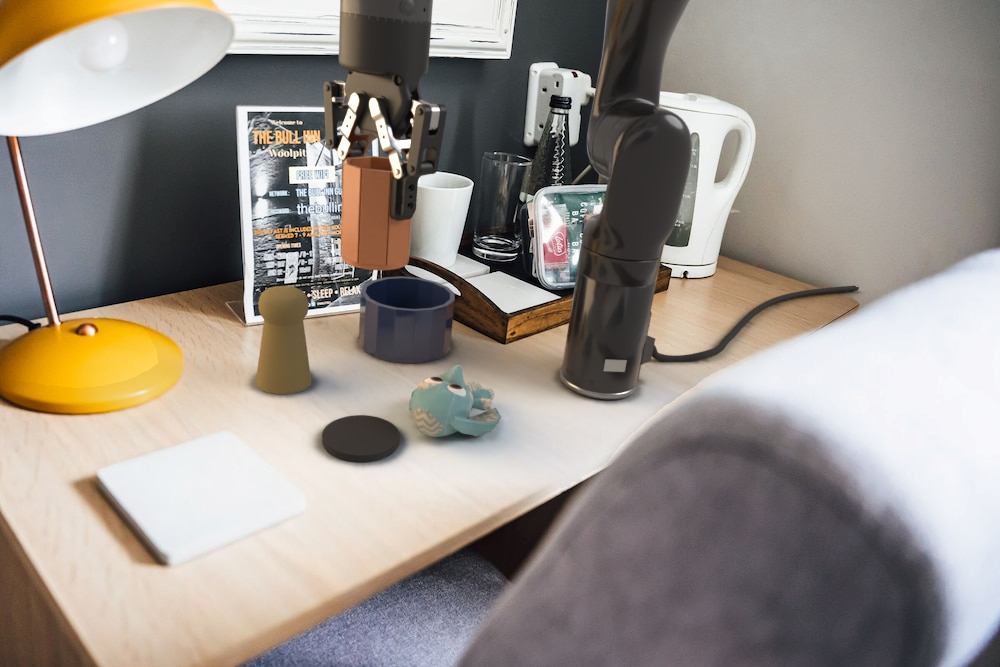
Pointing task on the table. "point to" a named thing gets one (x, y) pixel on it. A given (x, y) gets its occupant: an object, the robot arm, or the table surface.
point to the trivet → (360, 438)
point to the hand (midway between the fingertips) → (376, 208)
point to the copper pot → (371, 217)
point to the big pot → (406, 319)
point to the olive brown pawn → (283, 341)
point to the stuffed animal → (452, 405)
